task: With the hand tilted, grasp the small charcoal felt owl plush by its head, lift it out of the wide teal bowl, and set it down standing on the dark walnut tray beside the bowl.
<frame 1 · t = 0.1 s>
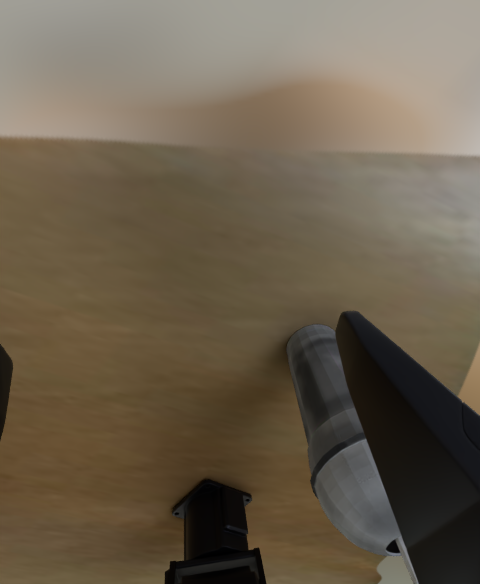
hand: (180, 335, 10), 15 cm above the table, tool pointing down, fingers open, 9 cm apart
beverage cup: (311, 344, 31), on the table
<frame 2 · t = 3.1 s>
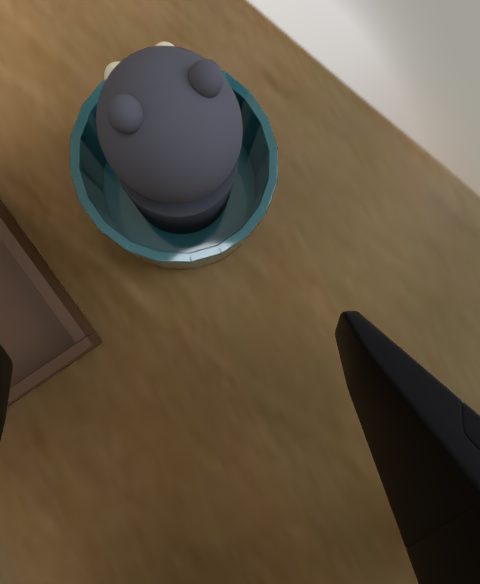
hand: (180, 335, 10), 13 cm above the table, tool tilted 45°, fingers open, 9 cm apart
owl: (181, 185, 23), point 1 cm above the table, touching teal bowl
teal bowl: (181, 188, 23), on the table
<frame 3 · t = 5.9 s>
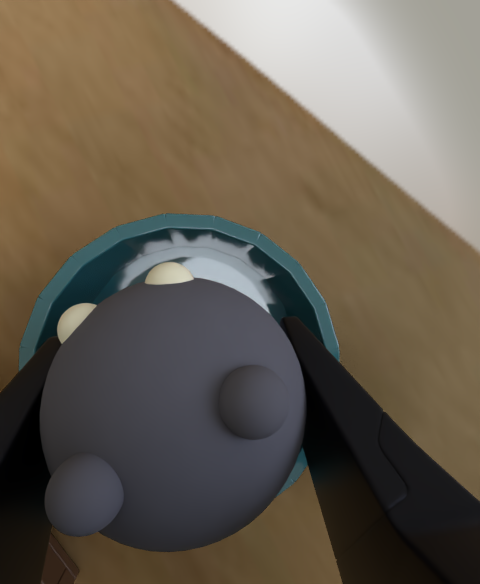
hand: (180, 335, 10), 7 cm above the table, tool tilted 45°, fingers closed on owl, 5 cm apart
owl: (189, 351, 16), point 1 cm above the table, touching teal bowl, gripper
teal bowl: (190, 349, 17), on the table
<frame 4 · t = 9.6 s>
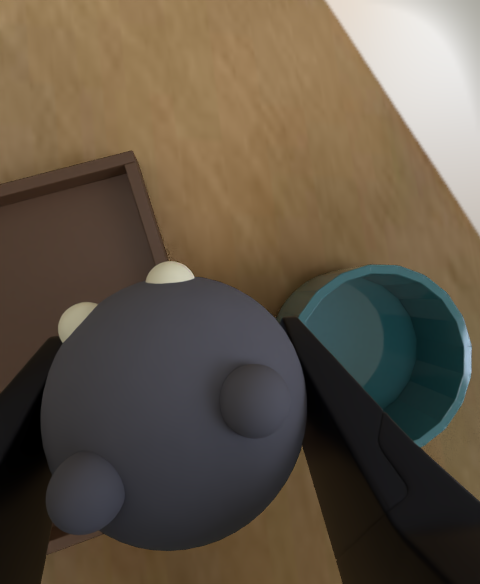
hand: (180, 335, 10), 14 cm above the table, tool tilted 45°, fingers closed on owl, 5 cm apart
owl: (189, 351, 16), point 7 cm above the table, touching gripper
tray: (72, 353, 23), on the table
teal bowl: (345, 347, 24), on the table
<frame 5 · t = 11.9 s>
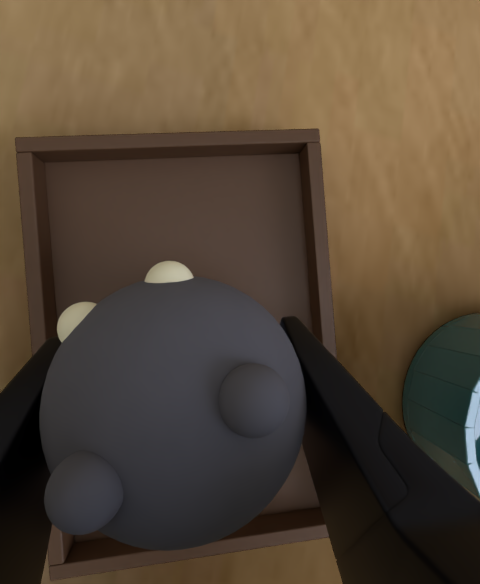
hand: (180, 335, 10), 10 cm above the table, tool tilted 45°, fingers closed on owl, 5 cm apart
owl: (189, 350, 16), point 3 cm above the table, touching gripper
tray: (191, 339, 20), on the table
when the fingers open (7 cm above the table, at t = 13.3 s): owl stays where it is, resting on tray.
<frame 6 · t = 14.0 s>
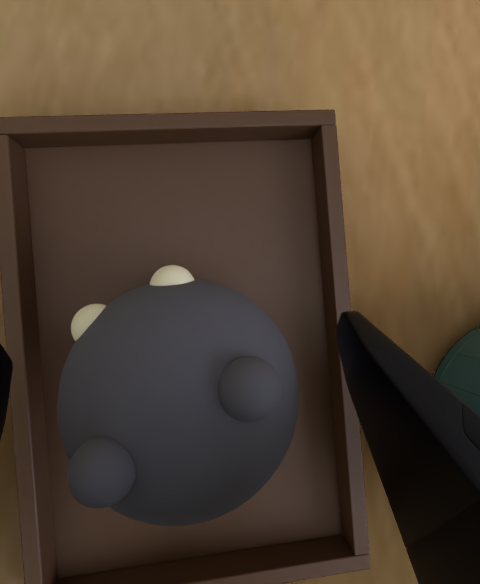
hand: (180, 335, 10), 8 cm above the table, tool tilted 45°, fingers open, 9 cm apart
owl: (190, 348, 17), resting on tray
tray: (190, 347, 17), on the table
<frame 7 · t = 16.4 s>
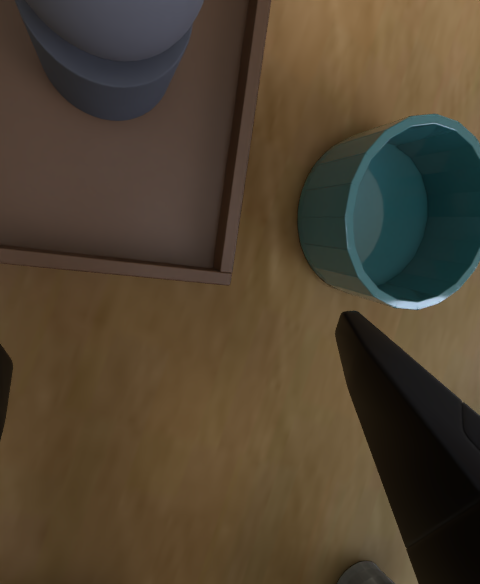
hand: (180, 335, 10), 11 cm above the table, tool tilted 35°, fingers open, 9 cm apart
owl: (107, 52, 17), resting on tray
tray: (106, 57, 18), on the table
teal bowl: (365, 217, 24), on the table
beverage cup: (355, 582, 31), on the table
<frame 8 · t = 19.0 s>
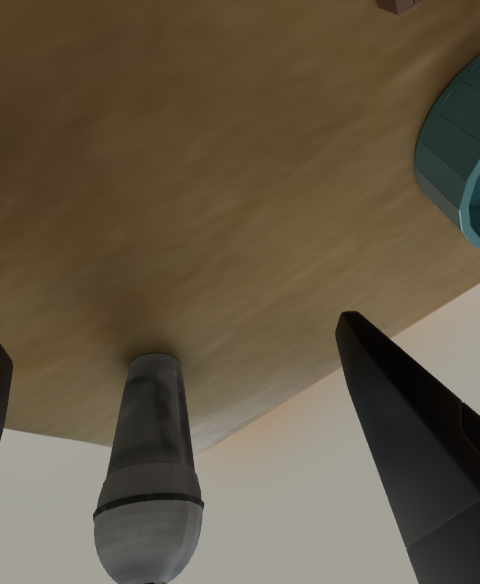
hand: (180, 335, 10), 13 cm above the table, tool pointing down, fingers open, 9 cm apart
beverage cup: (155, 366, 33), on the table
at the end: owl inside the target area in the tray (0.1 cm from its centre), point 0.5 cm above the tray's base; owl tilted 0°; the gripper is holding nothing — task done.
